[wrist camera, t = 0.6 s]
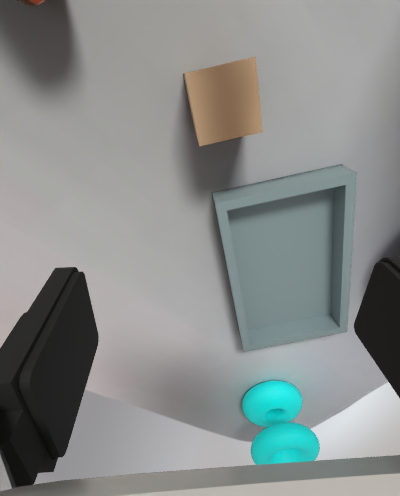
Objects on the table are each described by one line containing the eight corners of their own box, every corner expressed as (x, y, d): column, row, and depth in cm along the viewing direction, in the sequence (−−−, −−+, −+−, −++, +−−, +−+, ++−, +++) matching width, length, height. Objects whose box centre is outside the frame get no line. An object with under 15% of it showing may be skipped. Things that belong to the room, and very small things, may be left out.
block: (238, 60, 27) (255, 56, 21) (245, 120, 29) (262, 131, 23) (183, 73, 27) (184, 73, 21) (195, 131, 29) (199, 146, 23)
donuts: (319, 434, 40) (325, 468, 45) (294, 370, 49) (301, 405, 54) (246, 450, 41) (260, 482, 46) (234, 385, 50) (247, 417, 55)
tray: (341, 164, 32) (356, 172, 29) (336, 315, 43) (347, 331, 40) (212, 192, 33) (215, 203, 30) (239, 334, 44) (243, 351, 41)
